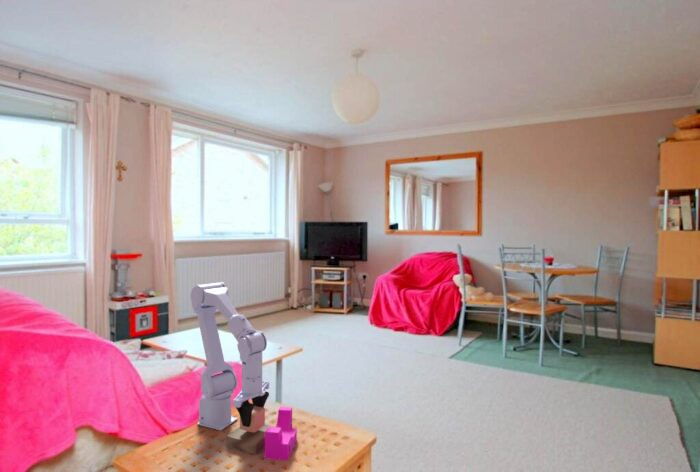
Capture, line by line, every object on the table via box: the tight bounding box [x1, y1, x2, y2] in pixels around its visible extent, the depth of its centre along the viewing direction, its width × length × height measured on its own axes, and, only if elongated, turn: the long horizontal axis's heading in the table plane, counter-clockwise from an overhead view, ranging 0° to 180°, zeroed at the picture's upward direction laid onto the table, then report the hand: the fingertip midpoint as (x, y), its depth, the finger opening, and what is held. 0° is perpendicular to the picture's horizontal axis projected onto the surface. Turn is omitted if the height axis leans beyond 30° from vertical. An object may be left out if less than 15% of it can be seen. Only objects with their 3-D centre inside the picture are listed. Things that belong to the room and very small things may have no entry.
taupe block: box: [226, 424, 275, 455], centre depth 120 cm, size 10×10×3 cm
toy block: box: [264, 406, 298, 461], centre depth 119 cm, size 15×6×8 cm, turn 174°
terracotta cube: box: [239, 406, 266, 433], centre depth 120 cm, size 5×5×5 cm
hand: (252, 421), depth 120 cm, fingers closed on terracotta cube, 5 cm apart
